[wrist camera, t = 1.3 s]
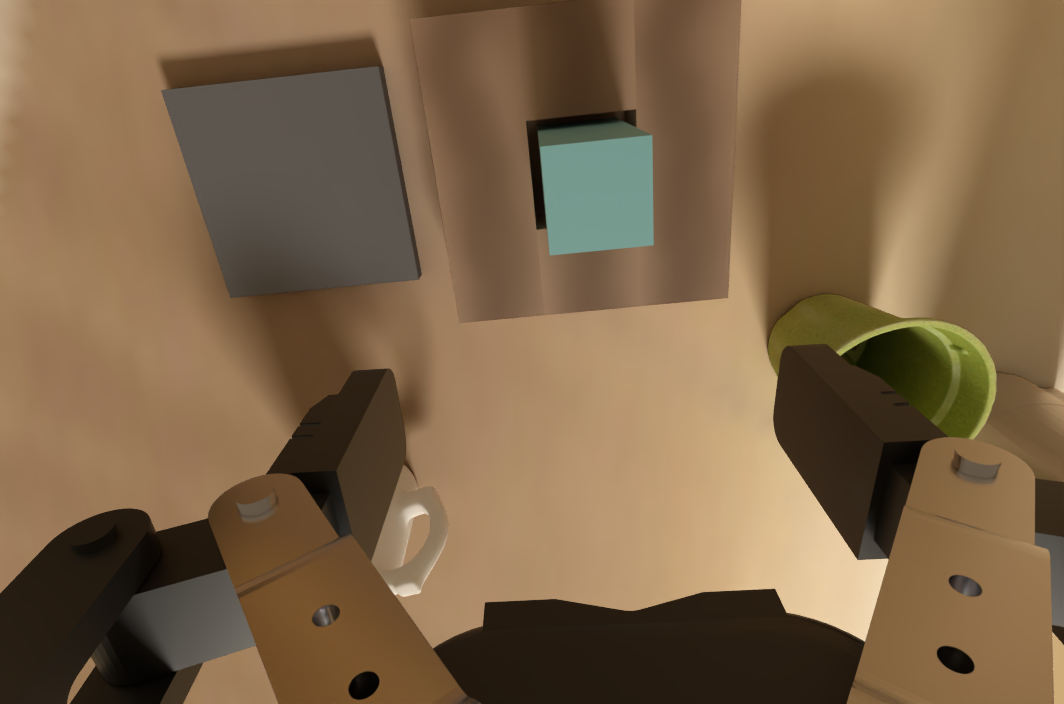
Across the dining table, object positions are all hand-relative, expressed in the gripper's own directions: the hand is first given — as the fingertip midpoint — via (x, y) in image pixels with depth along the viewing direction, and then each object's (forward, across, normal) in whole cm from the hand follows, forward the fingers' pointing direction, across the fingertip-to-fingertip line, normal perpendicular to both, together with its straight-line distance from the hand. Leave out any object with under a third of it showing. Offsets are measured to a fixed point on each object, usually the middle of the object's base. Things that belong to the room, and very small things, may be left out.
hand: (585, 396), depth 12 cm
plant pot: (+23, -16, +10) cm, 29 cm away
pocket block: (+22, -1, -2) cm, 23 cm away
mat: (+22, +14, -1) cm, 26 cm away
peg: (+21, -1, -2) cm, 22 cm away
